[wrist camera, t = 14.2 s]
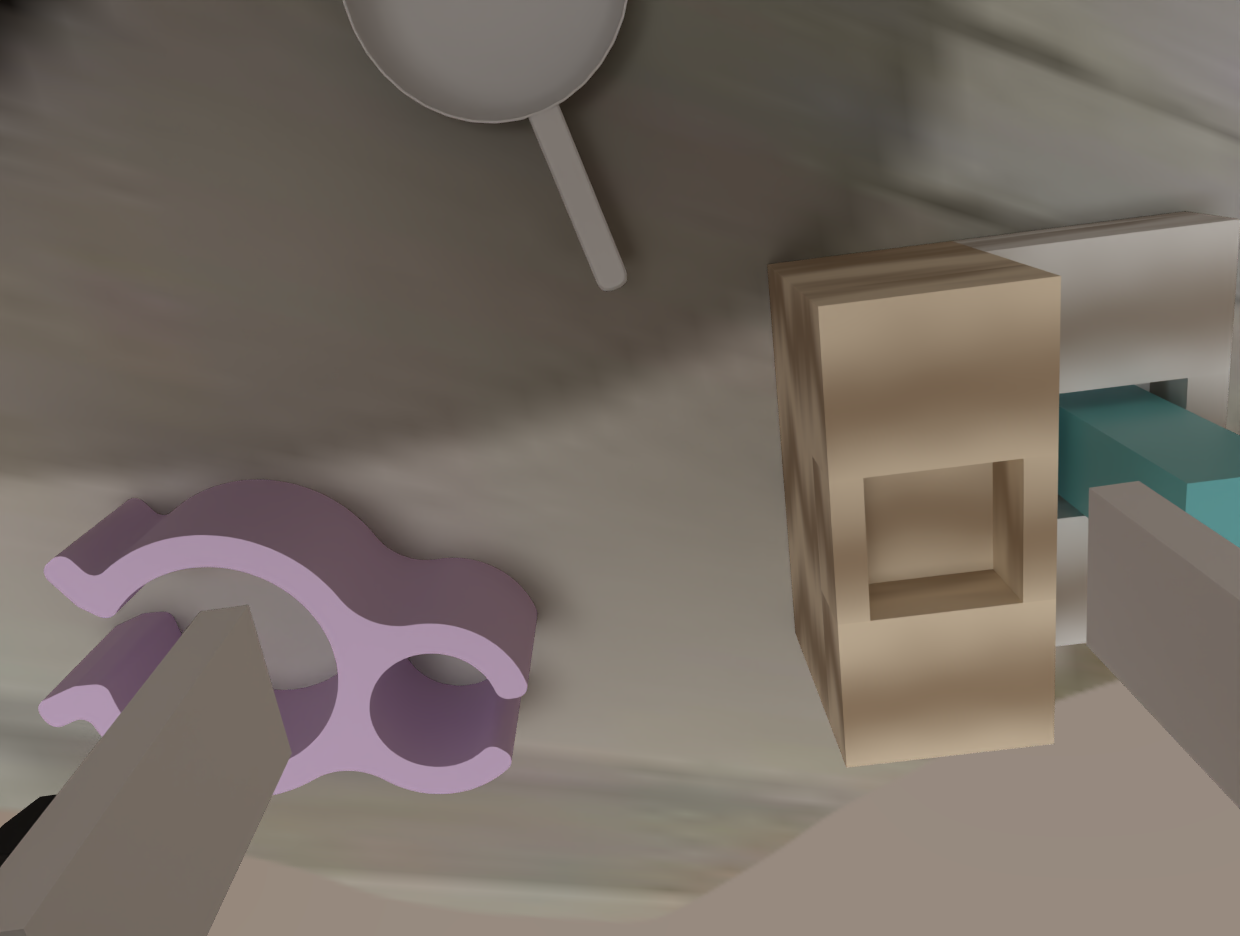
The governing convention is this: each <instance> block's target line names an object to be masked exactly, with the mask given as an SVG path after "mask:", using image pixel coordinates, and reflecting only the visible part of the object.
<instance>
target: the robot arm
mask: <svg viewBox="0 0 1240 936" xmlns="http://www.w3.org/2000/svg"><path fill="white" fill-rule="evenodd" d="M1086 645H1087V646H1088V647H1089V648H1090V649H1091V651H1092V652H1093V653H1094V654H1095V655H1096V656H1097V657H1098V658H1099V659H1100V660H1101V661H1102V662H1103V663H1104V664H1105V665H1106V667H1107V668H1108V669H1109V670H1110V671H1111V672H1112V673H1113V674H1114V675H1115V676H1116V677H1117V678H1118V679H1119V680H1120V681H1121V683H1122V684H1123V685H1124V686H1125V687H1126V688H1127V689H1128V690H1129V691H1130V692H1131V693H1132V694H1133V695H1134V696H1135V698H1136V699H1137V700H1138V701H1139V702H1140V703H1141V704H1142V705H1143V706H1144V707H1145V708H1146V709H1147V710H1148V711H1149V713H1151V715H1152V716H1153V717H1154V718H1155V719H1156V720H1157V721H1158V722H1159V723H1160V724H1161V725H1162V726H1163V727H1164V728H1165V730H1166V731H1167V732H1168V733H1169V734H1170V735H1171V736H1172V737H1173V738H1174V739H1175V740H1176V741H1177V742H1178V743H1179V745H1180V746H1181V747H1182V748H1183V749H1184V750H1185V751H1186V752H1187V753H1188V754H1189V755H1190V756H1191V757H1192V758H1193V760H1194V761H1196V763H1197V764H1198V765H1200V767H1201V768H1202V769H1203V770H1204V771H1205V772H1206V773H1207V774H1208V775H1209V777H1210V778H1211V779H1212V780H1213V781H1214V782H1215V783H1216V784H1217V785H1218V786H1219V787H1220V788H1221V789H1222V790H1223V791H1224V793H1225V794H1226V795H1227V796H1228V797H1229V798H1230V799H1231V800H1232V801H1233V802H1234V803H1235V804H1236V805H1237V806H1238V808H1239V809H1240V548H1239V547H1237V546H1236V545H1234V544H1233V543H1231V542H1230V541H1228V540H1227V539H1225V538H1224V537H1222V536H1221V535H1219V534H1218V533H1216V532H1215V531H1213V530H1212V529H1210V528H1209V527H1207V526H1206V525H1204V524H1203V523H1201V522H1200V521H1198V520H1197V519H1195V518H1194V517H1192V516H1191V515H1189V514H1188V513H1186V512H1185V511H1183V510H1182V509H1180V508H1179V507H1177V506H1176V505H1174V504H1173V503H1171V502H1170V501H1168V500H1167V499H1165V498H1164V497H1162V496H1161V495H1159V494H1158V493H1156V492H1155V491H1153V490H1152V489H1150V488H1149V487H1147V486H1146V485H1144V484H1143V483H1141V482H1140V481H1134V482H1127V483H1120V484H1112V485H1105V486H1098V487H1091V488H1089V518H1088V575H1087V631H1086ZM291 754H292V752H291V749H290V745H289V742H288V738H287V735H286V731H285V728H284V725H283V721H282V718H281V714H280V711H279V707H278V704H277V701H276V697H275V694H274V690H273V687H272V684H271V680H270V677H269V673H268V670H267V666H266V663H265V660H264V656H263V653H262V649H261V646H260V642H259V639H258V636H257V632H256V629H255V625H254V622H253V618H252V615H251V612H250V608H249V605H243V606H236V607H229V608H222V609H214V610H207V611H200V612H199V614H198V615H197V616H196V618H195V619H194V620H193V621H192V623H191V624H190V625H189V627H188V628H187V629H186V630H185V632H184V633H183V634H182V635H181V637H180V638H179V639H178V641H177V642H176V643H175V644H174V646H173V647H172V648H171V650H170V651H169V652H168V653H167V655H166V656H165V657H164V658H163V660H162V661H161V662H160V664H159V665H158V666H157V667H156V669H155V670H154V671H153V673H152V674H151V675H150V676H149V678H148V679H147V680H146V682H145V683H144V684H143V685H142V687H141V688H140V689H139V690H138V692H137V693H136V694H135V696H134V697H133V698H132V699H131V701H130V702H129V703H128V705H127V706H126V707H125V708H124V710H123V711H122V712H121V713H120V715H119V716H118V717H117V719H116V720H115V721H114V722H113V724H112V725H111V726H110V728H109V729H108V730H107V731H106V733H105V734H104V735H103V737H102V738H101V739H100V740H99V742H98V743H97V744H96V745H95V747H94V748H93V749H92V751H91V752H90V753H89V754H88V756H87V757H86V758H85V760H84V761H83V762H82V763H81V765H80V766H79V767H78V768H77V770H76V771H75V772H74V774H73V775H72V776H71V777H70V779H69V780H68V781H67V783H66V784H65V785H64V786H63V788H62V789H61V790H60V792H59V793H58V794H57V795H50V796H42V797H39V798H38V799H37V800H35V801H34V802H33V803H31V804H30V805H29V806H27V807H26V808H25V809H23V810H22V811H21V812H20V813H18V814H17V815H16V816H14V817H13V818H12V819H10V820H9V821H8V822H6V823H5V824H4V825H3V826H2V827H1V828H0V936H207V935H208V932H209V930H210V928H211V926H212V924H213V922H214V920H215V917H216V915H217V913H218V911H219V909H220V906H221V904H222V902H223V900H224V898H225V896H226V894H227V892H228V889H229V887H230V885H231V883H232V881H233V879H234V876H235V874H236V872H237V870H238V868H239V866H240V864H241V862H242V859H243V857H244V855H245V853H246V851H247V849H248V846H249V844H250V842H251V840H252V838H253V836H254V834H255V831H256V829H257V827H258V825H259V823H260V821H261V819H262V816H263V814H264V812H265V810H266V808H267V806H268V803H269V801H270V799H271V797H272V795H273V793H274V791H275V788H276V786H277V784H278V782H279V780H280V778H281V776H282V773H283V771H284V769H285V767H286V765H287V763H288V760H289V758H290V756H291Z"/></svg>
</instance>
